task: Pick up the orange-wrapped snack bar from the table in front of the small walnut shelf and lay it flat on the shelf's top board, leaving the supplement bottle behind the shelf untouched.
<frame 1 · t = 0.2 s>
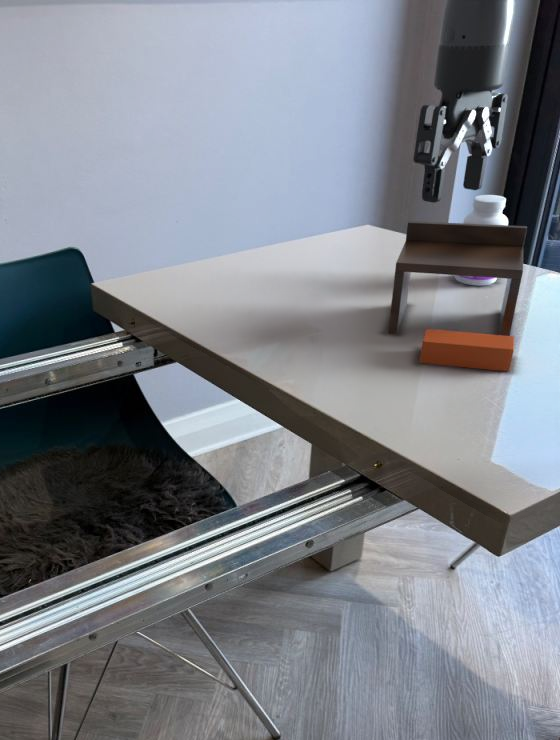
hand: (452, 195, 95), 20 cm above the table, tool pointing down, fingers open, 8 cm apart
supplement bottle: (475, 281, 129), on the table
shelf: (449, 323, 114), on the table
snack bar: (464, 360, 103), on the table
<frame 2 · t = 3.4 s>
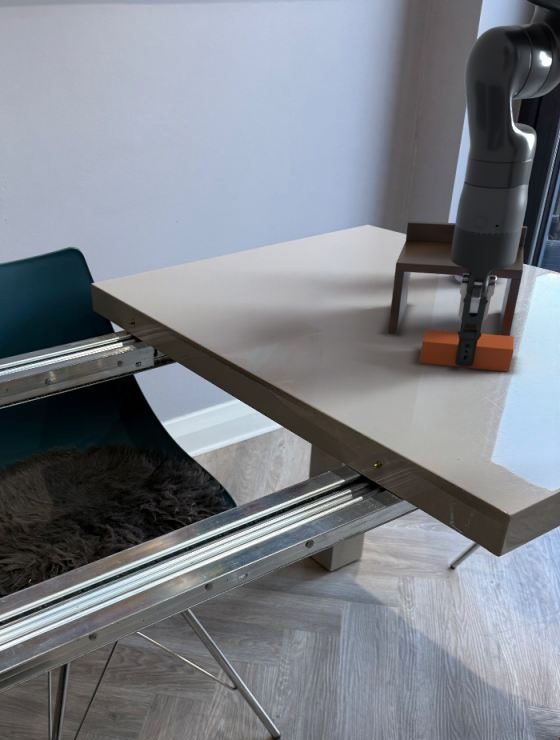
hand: (465, 356, 102), 1 cm above the table, tool pointing down, fingers closed on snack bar, 4 cm apart
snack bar: (464, 360, 103), on the table, touching gripper
everything else where it was.
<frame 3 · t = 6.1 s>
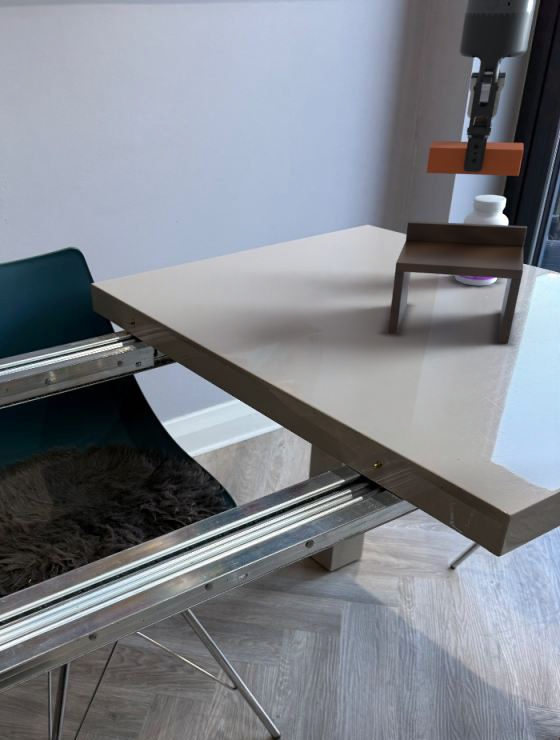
hand: (473, 166, 100), 22 cm above the table, tool pointing down, fingers closed on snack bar, 4 cm apart
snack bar: (472, 170, 100), point 21 cm above the table, touching gripper
everything else where it was.
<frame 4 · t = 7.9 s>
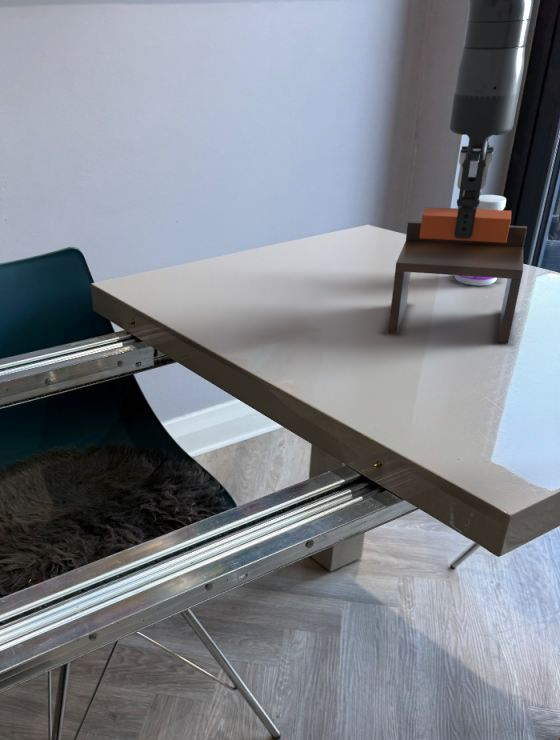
hand: (464, 231, 105), 13 cm above the table, tool pointing down, fingers closed on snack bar, 4 cm apart
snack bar: (463, 236, 106), point 13 cm above the table, touching gripper
everything else where it was.
when the fingers open (11 cm above the table, at t = 9.1 s): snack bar stays where it is, resting on shelf.
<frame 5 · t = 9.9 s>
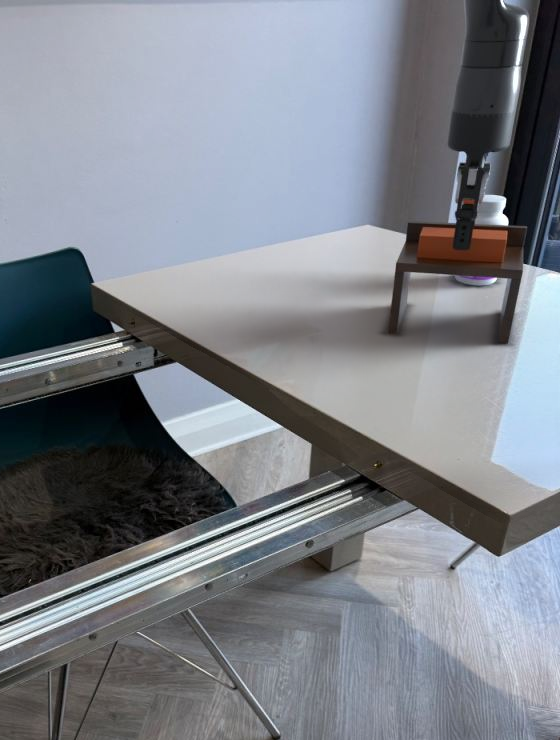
hand: (462, 240, 106), 12 cm above the table, tool pointing down, fingers open, 8 cm apart
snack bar: (460, 255, 107), point 10 cm above the table, touching shelf
everything else where it was.
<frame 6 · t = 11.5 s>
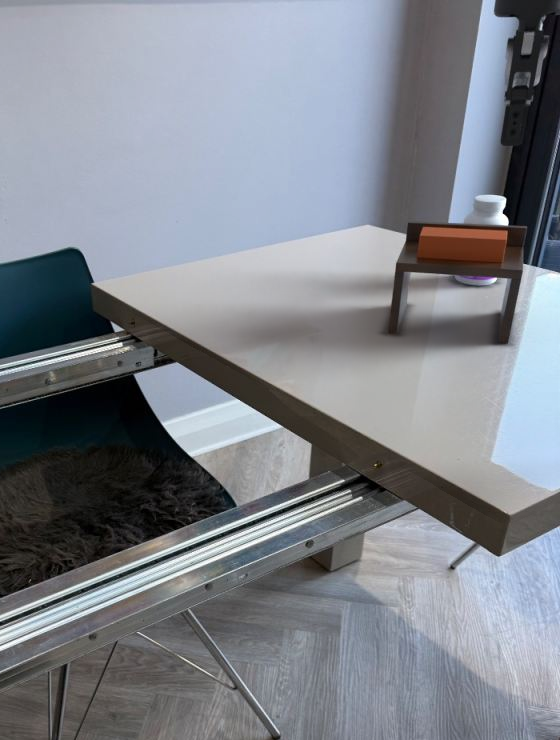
hand: (511, 139, 86), 27 cm above the table, tool pointing down, fingers open, 8 cm apart
nothing on the table moved.
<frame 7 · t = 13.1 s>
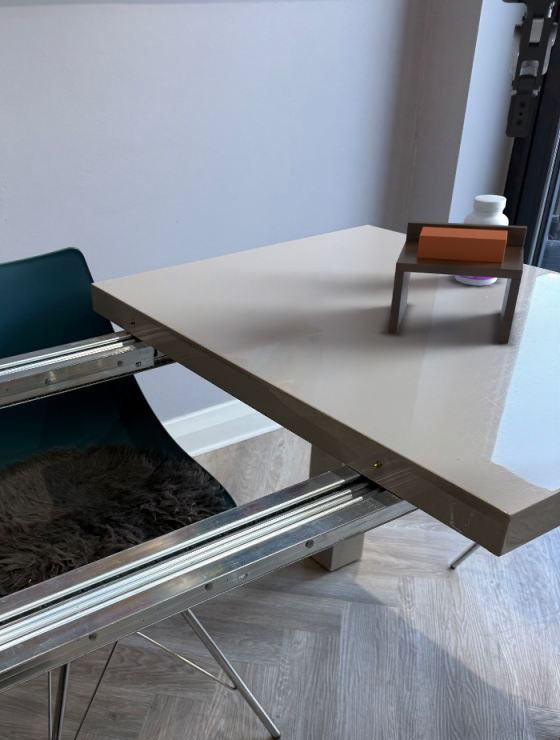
hand: (516, 129, 83), 28 cm above the table, tool pointing down, fingers open, 8 cm apart
nothing on the table moved.
at the end: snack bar inside the target area on the shelf (0.6 cm from its centre), point 10.0 cm above the shelf's base; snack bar tilted 0°; supplement bottle moved 0.2 cm from its start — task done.
